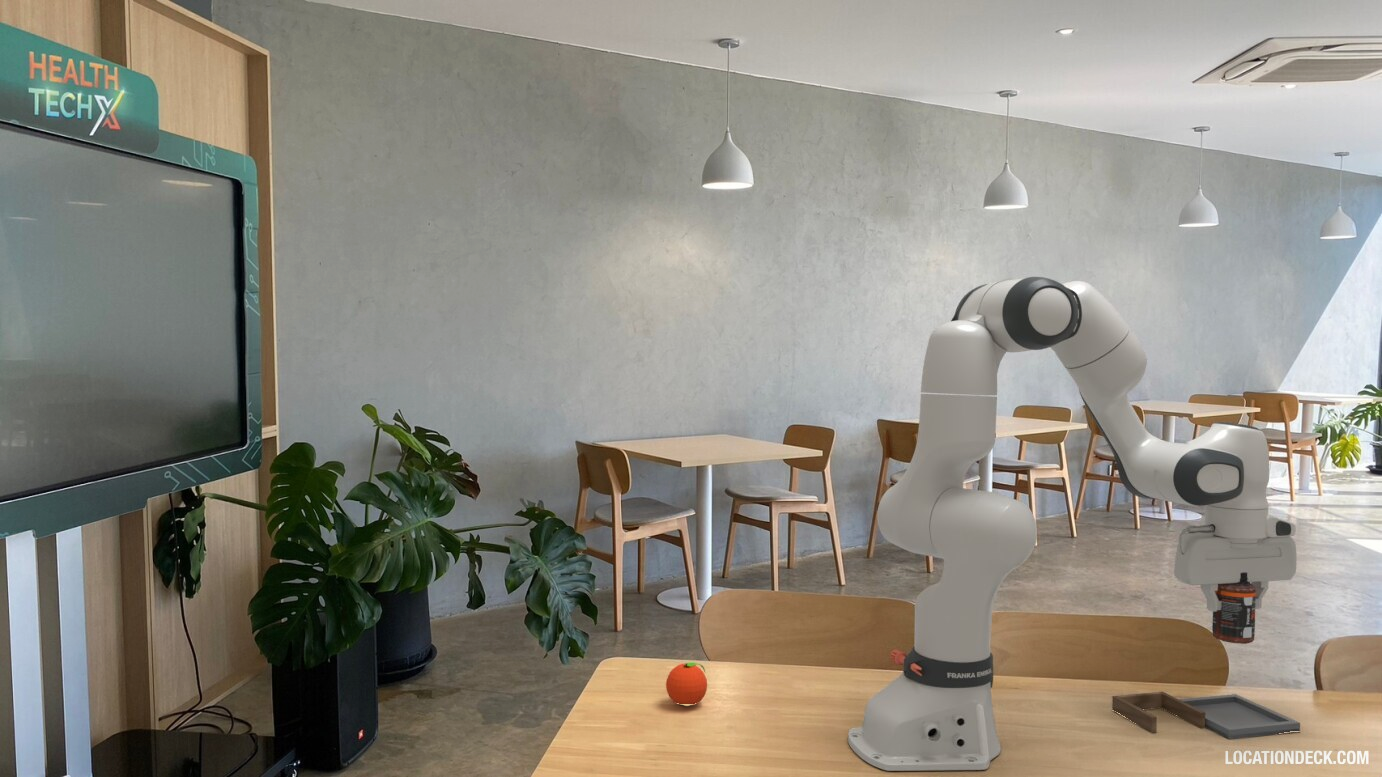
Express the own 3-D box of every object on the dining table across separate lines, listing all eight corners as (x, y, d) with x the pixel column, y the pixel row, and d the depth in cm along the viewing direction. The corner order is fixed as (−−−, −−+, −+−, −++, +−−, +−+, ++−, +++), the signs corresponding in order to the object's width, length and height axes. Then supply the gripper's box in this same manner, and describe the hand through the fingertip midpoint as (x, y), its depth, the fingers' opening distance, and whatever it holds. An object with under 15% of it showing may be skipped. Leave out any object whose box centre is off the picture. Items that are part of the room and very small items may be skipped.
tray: (1229, 739, 146) (1229, 729, 146) (1168, 709, 159) (1169, 700, 159) (1299, 732, 149) (1300, 722, 149) (1235, 702, 162) (1235, 694, 162)
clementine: (690, 693, 166) (690, 652, 166) (720, 703, 162) (720, 661, 161) (657, 705, 161) (657, 663, 160) (686, 716, 156) (686, 672, 156)
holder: (1152, 733, 149) (1152, 717, 149) (1112, 710, 158) (1112, 696, 158) (1205, 728, 151) (1205, 712, 151) (1162, 706, 160) (1162, 691, 160)
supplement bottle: (1260, 646, 150) (1262, 574, 150) (1219, 643, 151) (1220, 572, 151) (1246, 635, 156) (1248, 566, 156) (1207, 633, 157) (1208, 564, 157)
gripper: (1194, 529, 148) (1192, 618, 148) (1305, 524, 152) (1302, 611, 153) (1165, 522, 154) (1164, 607, 154) (1272, 518, 158) (1270, 601, 159)
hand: (1234, 609), depth 154 cm, fingers closed on supplement bottle, 6 cm apart
